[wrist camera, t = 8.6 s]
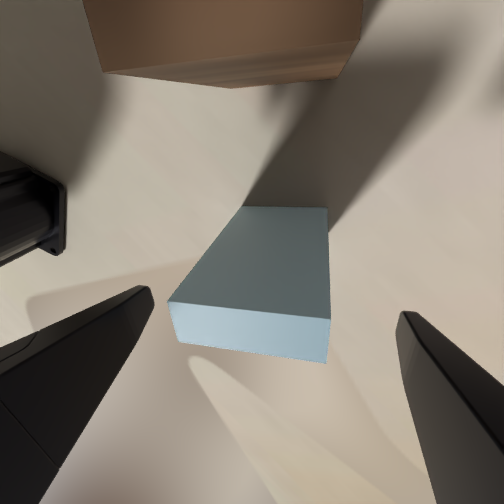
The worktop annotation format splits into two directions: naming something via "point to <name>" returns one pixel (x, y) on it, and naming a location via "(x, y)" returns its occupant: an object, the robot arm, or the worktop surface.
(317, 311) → the tile
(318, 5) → the tile
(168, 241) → the worktop surface
